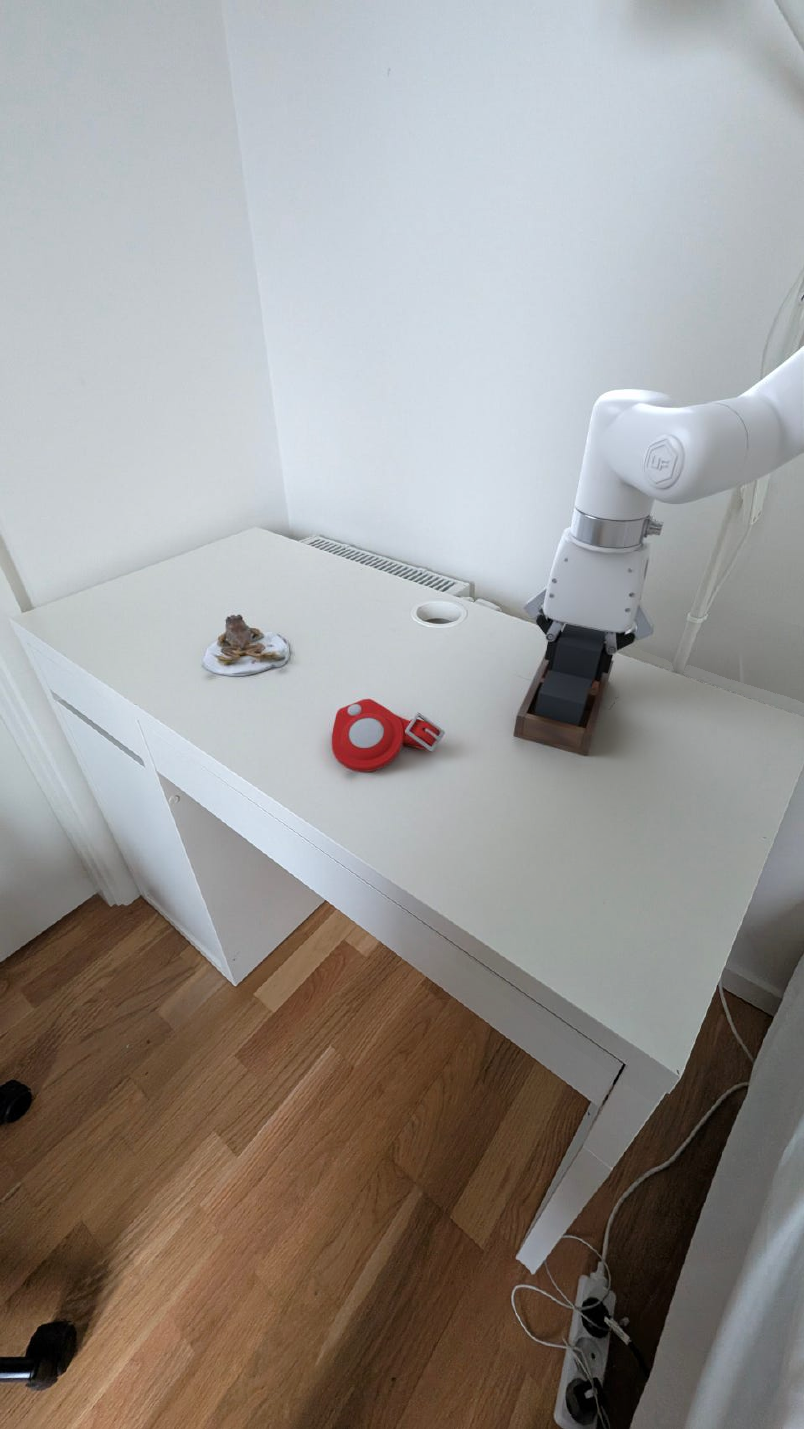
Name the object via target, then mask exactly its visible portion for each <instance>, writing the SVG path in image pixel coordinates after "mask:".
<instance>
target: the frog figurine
mask: <svg viewBox="0 0 804 1429" xmlns="http://www.w3.org/2000/svg"><path fill="white" fill-rule="evenodd" d="M290 656H291V653H290V645H289V644H288V641H287V640H286V639H285V638H284V637H282V636H281V635H280V634H279V633H275V632H271V631H264V630H260V629H259V628H255V627H250V626H249V625H247V624H246V621H245V620H244V617H243V615H242V614H237V615H235V614H231V615H230V616H226V618H225V632H224V633H223V634H221V635H219V636H218V637H217V639H216V640H215V641H213V643H212V644H211V645H210V646H209V647H207V648H206V652H205V655H204V656H203V660H202V663H201V666H203V668H204V669H205V670H207V671H209V672H212V673H213V674H216V675H220V676H225V677H226V676H227V677H245V676H250V675H255V674H259V673H262V672H266V671H267V670H270V669H273V668H275V669H276V668H277V669H278V668H282V667H284V666H285V664H286V663H287V662H288V661H289V659H290Z"/></svg>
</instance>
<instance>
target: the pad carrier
mask: <svg viewBox="0 0 804 1429" xmlns="http://www.w3.org/2000/svg"><path fill="white" fill-rule="evenodd" d="M545 654H546V651H545V653H544V655H543V656H542V659H541V662H540V664H539V665H538V668H537V670H536V672H535V675H534V676H533V679H532V681H531V683H530V685H529V687H528V690H527V692H526V695H525V696H524V698H523V701H522V703H521V705H520V707H519V710H518V712H517V714H516V718H515V724H514V729H513V730H514V731H513V737H516V738H520V739H522V740H527V741H530V742H534V743H537V744H541V745H545V746H549V747H553V748H556V749H560V750H563V751H567V752H570V753H574V754H577V755H581V756H585V757H587V756H588V755H589V751H590V747H591V744H592V740H593V736H594V734H595V729H596V726H597V722H598V718H599V716H600V711H601V707H602V704H603V701H604V697H605V694H606V690H607V687H608V684H609V679H610V675H611V672H612V668H613V665H614V662H615V661H614V660H612V661H611V665H610V668H609V672H608V674H607V673H603V672H602V675H601V678H600V682H598V681H595V680H594V683H593V686H592V687H590V690H589V694H588V698H587V702H586V706H585V709H584V713H583V717H582V720H581V723H580V726H579V727H578V726H574V725H570V724H566V723H563V722H559V721H555V720H551V719H547V718H543V717H540V716H536V715H535V710H536V705H537V699H538V694H539V691H540V689H541V687H542V684H543V682H544V680H545V677H546V675H547V673H548V665H549V660H545Z"/></svg>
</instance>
